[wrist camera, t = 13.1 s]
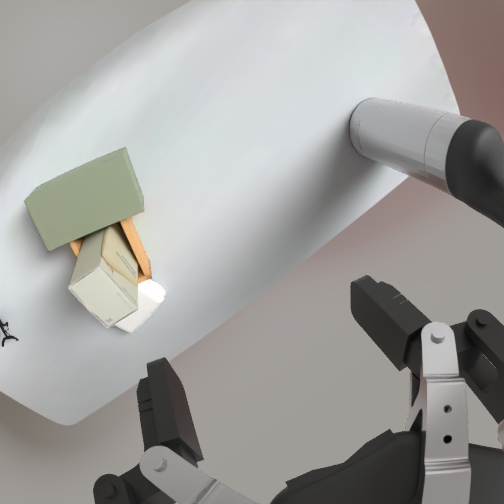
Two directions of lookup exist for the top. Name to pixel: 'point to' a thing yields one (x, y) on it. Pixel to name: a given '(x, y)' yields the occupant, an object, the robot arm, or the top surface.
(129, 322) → the soap
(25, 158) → the top surface
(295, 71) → the top surface
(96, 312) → the skincare box
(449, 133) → the robot arm
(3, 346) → the creature
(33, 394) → the top surface
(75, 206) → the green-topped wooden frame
